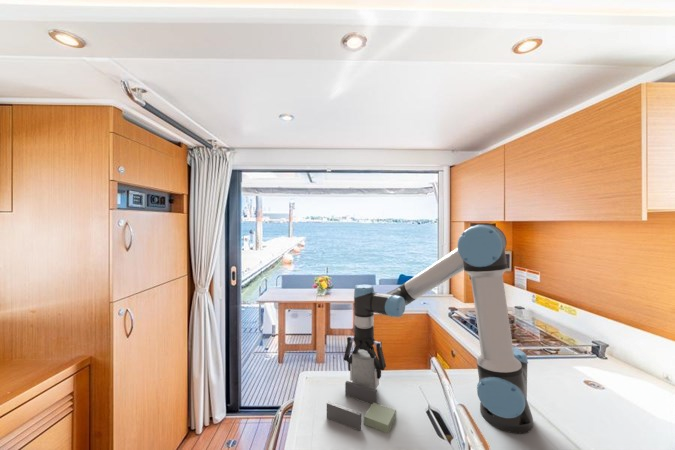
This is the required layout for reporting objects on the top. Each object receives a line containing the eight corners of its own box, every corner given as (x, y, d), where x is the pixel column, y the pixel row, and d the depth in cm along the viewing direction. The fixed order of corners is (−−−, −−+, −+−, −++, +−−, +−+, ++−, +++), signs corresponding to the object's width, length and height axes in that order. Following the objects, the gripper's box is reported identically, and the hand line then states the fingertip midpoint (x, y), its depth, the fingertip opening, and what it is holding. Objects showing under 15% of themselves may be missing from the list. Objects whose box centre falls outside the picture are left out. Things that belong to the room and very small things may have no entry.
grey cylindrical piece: (375, 394, 105) (375, 361, 105) (350, 391, 107) (350, 358, 107) (377, 379, 114) (377, 349, 114) (354, 377, 116) (353, 347, 116)
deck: (395, 417, 94) (395, 409, 94) (387, 433, 87) (388, 425, 87) (373, 409, 98) (373, 402, 98) (364, 424, 91) (364, 416, 91)
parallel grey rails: (376, 403, 101) (376, 390, 101) (359, 431, 88) (359, 415, 88) (346, 393, 107) (346, 380, 107) (326, 417, 94) (326, 403, 94)
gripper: (394, 327, 108) (395, 385, 109) (343, 317, 119) (343, 370, 119) (388, 333, 102) (388, 395, 102) (334, 323, 112) (334, 379, 113)
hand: (364, 382), depth 111 cm, fingers closed on grey cylindrical piece, 9 cm apart
